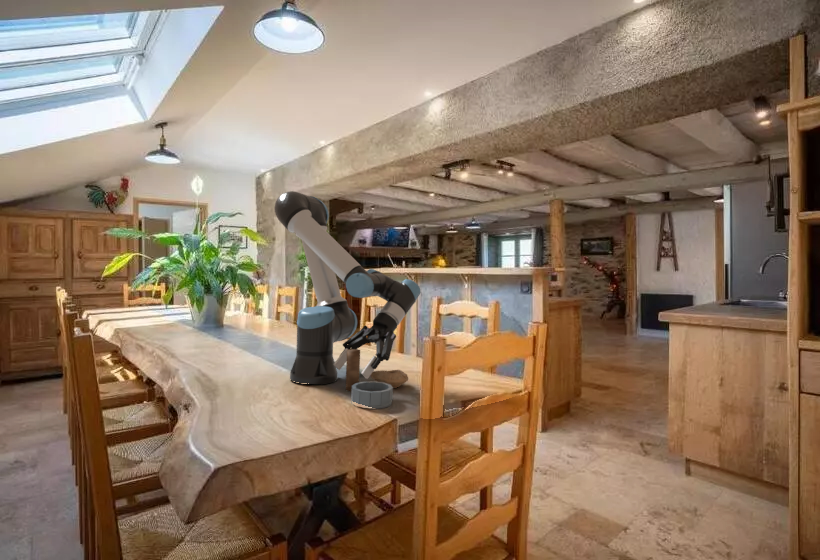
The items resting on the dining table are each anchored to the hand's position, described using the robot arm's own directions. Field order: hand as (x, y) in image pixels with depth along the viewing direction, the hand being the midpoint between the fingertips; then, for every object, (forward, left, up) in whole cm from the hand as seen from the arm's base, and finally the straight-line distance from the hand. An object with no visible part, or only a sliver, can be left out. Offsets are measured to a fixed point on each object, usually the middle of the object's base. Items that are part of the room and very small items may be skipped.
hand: (349, 371), depth 130 cm
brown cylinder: (0, +1, -6) cm, 6 cm away
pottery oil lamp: (+9, +10, -6) cm, 15 cm away
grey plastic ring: (+10, -9, -6) cm, 15 cm away
